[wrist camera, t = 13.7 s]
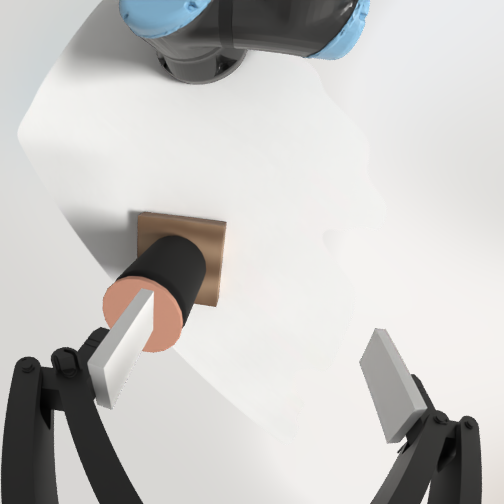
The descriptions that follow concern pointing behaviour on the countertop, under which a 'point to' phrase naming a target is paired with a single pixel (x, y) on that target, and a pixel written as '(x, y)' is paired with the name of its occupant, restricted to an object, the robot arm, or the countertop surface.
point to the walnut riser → (197, 231)
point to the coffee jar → (160, 288)
